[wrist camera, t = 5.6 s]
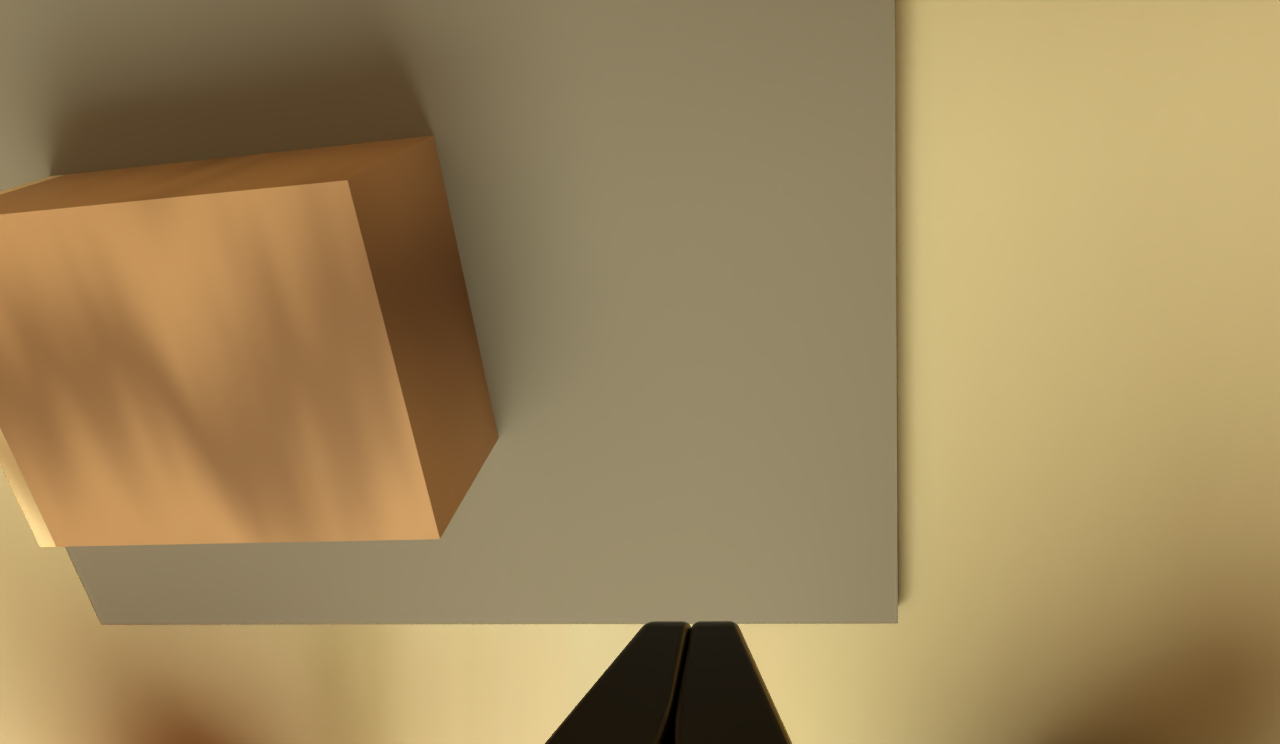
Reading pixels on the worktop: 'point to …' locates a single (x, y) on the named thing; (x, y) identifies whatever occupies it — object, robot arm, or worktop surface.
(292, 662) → the worktop surface
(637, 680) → the robot arm
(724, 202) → the mat
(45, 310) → the block
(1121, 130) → the worktop surface
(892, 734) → the worktop surface
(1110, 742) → the worktop surface
